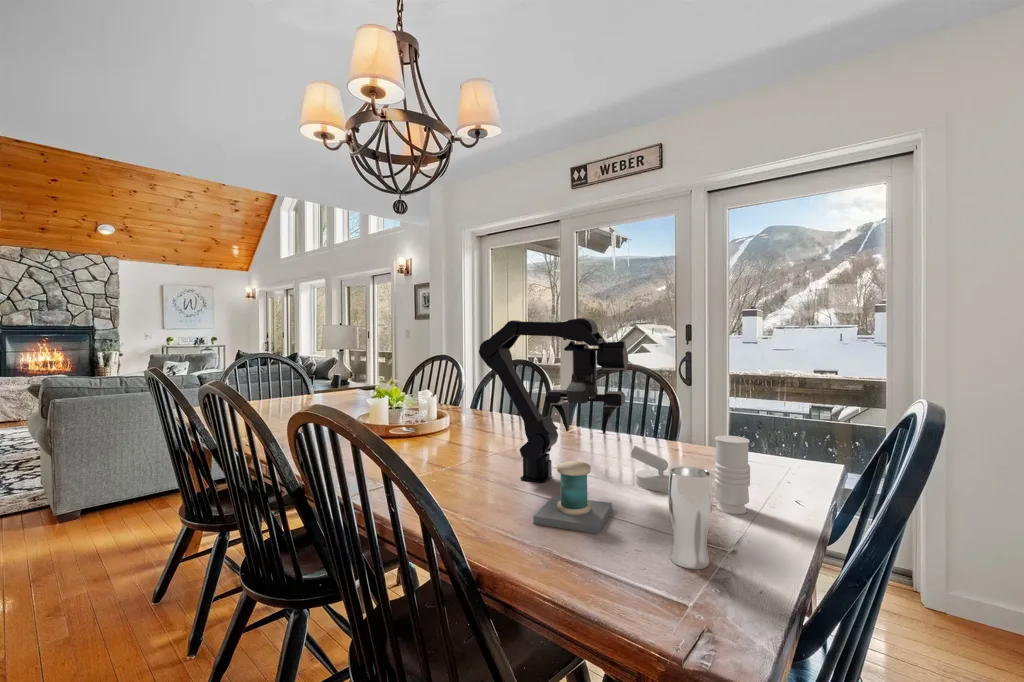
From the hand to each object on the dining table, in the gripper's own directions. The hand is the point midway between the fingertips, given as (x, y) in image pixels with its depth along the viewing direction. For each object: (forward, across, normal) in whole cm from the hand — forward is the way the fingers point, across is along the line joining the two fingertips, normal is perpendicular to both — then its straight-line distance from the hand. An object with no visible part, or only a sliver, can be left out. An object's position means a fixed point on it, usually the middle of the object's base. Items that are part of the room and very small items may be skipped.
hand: (585, 432), depth 120 cm
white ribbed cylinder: (+14, +33, -3) cm, 36 cm away
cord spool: (+12, +3, -21) cm, 24 cm away
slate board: (+13, +3, -21) cm, 25 cm away
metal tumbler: (+14, +26, -32) cm, 43 cm away
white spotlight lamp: (+14, +15, +6) cm, 21 cm away
